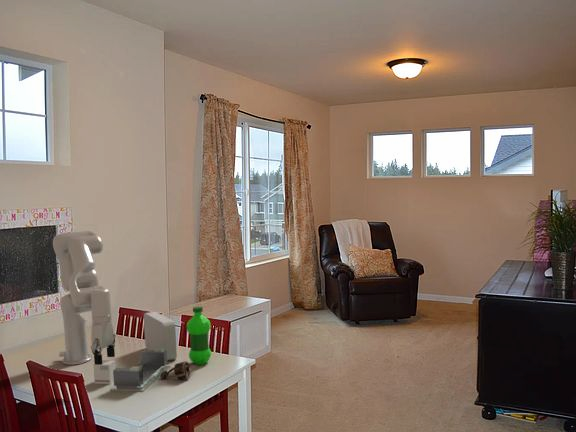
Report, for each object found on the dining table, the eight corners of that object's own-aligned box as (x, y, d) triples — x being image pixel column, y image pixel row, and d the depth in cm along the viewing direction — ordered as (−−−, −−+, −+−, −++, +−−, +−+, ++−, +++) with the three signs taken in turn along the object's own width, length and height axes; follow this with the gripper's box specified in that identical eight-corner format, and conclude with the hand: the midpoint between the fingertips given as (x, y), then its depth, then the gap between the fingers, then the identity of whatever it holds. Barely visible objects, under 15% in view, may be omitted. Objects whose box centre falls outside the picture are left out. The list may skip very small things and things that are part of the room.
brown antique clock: (179, 372, 211) (195, 359, 219) (155, 365, 217) (171, 352, 225) (182, 387, 213) (197, 374, 221) (157, 380, 219) (173, 367, 227)
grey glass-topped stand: (110, 390, 209) (108, 368, 208) (141, 366, 235) (140, 347, 234) (143, 391, 206) (142, 369, 205) (171, 367, 232) (170, 348, 232)
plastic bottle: (195, 358, 244) (192, 304, 242) (216, 359, 240) (213, 305, 239) (184, 365, 234) (181, 309, 233) (205, 367, 231) (202, 310, 229)
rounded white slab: (182, 359, 243) (179, 320, 242) (166, 362, 239) (163, 323, 238) (160, 345, 267) (158, 309, 266) (145, 348, 263) (143, 312, 262)
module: (94, 383, 217) (93, 364, 216) (101, 379, 222) (100, 360, 221) (110, 384, 216) (109, 364, 215) (116, 379, 220) (115, 360, 220)
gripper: (104, 314, 226) (107, 354, 227) (81, 324, 209) (84, 367, 210) (120, 314, 225) (123, 354, 225) (99, 324, 208) (102, 367, 208)
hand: (105, 360), depth 218 cm, fingers open, 9 cm apart
